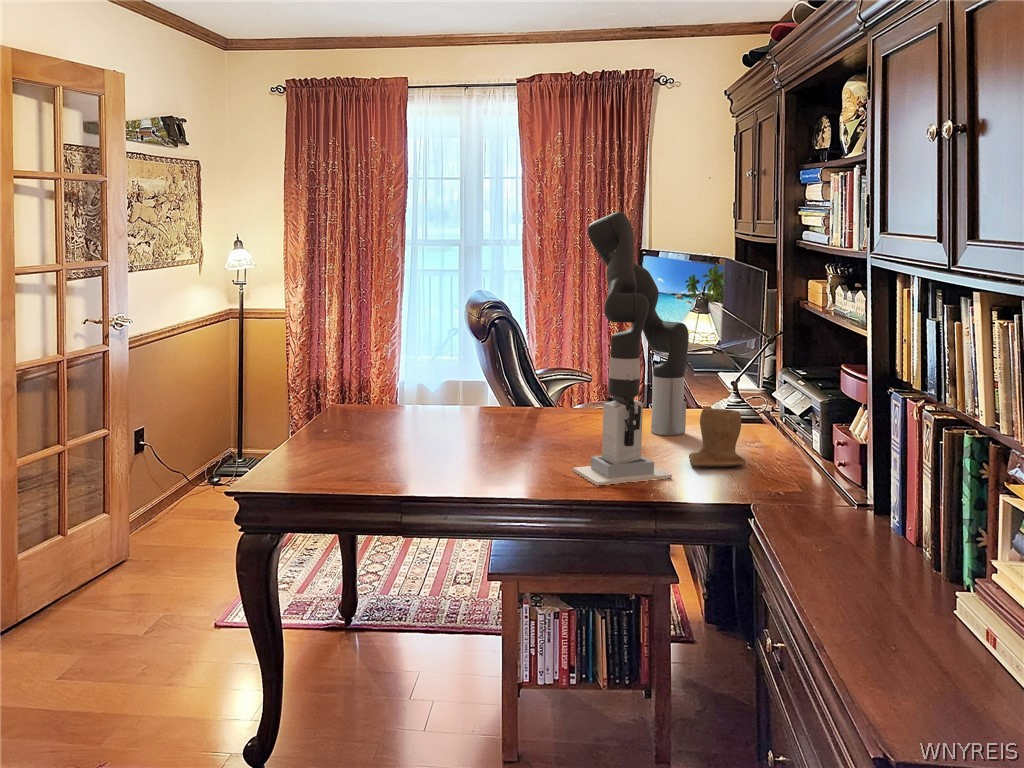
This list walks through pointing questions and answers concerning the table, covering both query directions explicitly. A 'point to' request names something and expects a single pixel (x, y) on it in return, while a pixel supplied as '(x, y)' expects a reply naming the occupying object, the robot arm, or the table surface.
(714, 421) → the tan flared vase
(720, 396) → the table surface
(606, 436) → the skincare box
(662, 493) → the table surface
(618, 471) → the socket board
